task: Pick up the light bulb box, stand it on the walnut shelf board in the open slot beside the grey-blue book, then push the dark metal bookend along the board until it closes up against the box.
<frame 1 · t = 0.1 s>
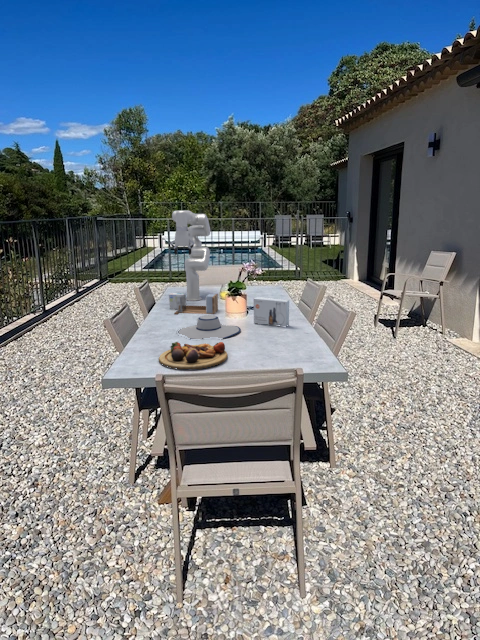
hand: (182, 254, 310), 37 cm above the table, tool pointing down, fingers open, 9 cm apart
light bulb box: (178, 308, 313), on the table
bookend: (181, 303, 299), point 6 cm above the table, slide at 0.0 cm
sun hat: (208, 332, 255), on the table
skincare box: (271, 325, 268), on the table
book: (211, 311, 298), resting on shelf
shelf: (196, 312, 299), on the table
wooden plate with food: (193, 359, 210), on the table
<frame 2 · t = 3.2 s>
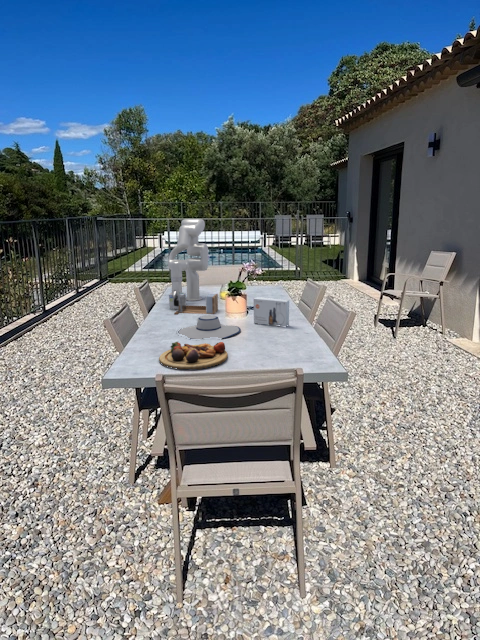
hand: (177, 304, 312), 3 cm above the table, tool pointing down, fingers closed on light bulb box, 6 cm apart
light bulb box: (178, 308, 312), on the table, touching gripper
everything else where it was.
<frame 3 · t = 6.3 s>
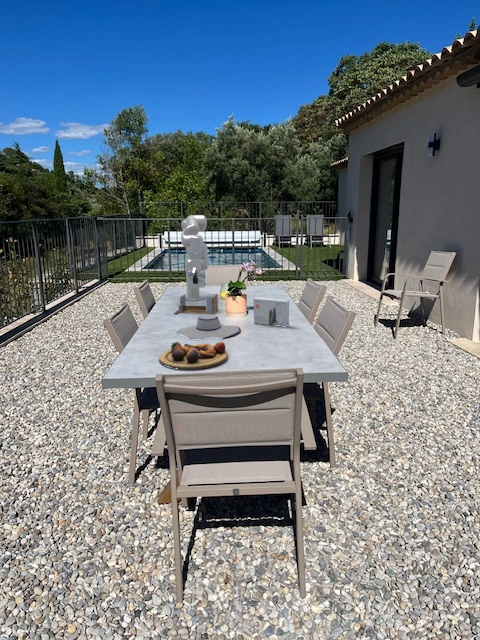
hand: (196, 282, 294), 20 cm above the table, tool pointing down, fingers closed on light bulb box, 6 cm apart
light bulb box: (196, 287, 295), point 17 cm above the table, touching gripper
everything else where it was.
when the fingers open (5 cm above the table, at t = 9.0 s): light bulb box drops 1 cm, resting on shelf.
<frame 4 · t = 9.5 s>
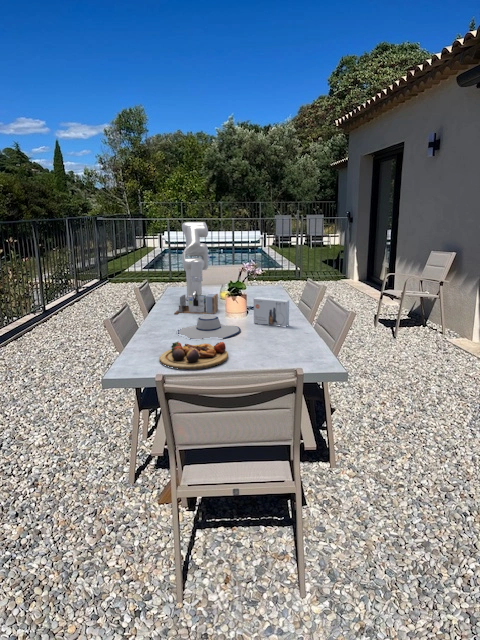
hand: (197, 304, 298), 6 cm above the table, tool pointing down, fingers open, 9 cm apart
light bulb box: (197, 311, 299), point 1 cm above the table, touching shelf
everything else where it was.
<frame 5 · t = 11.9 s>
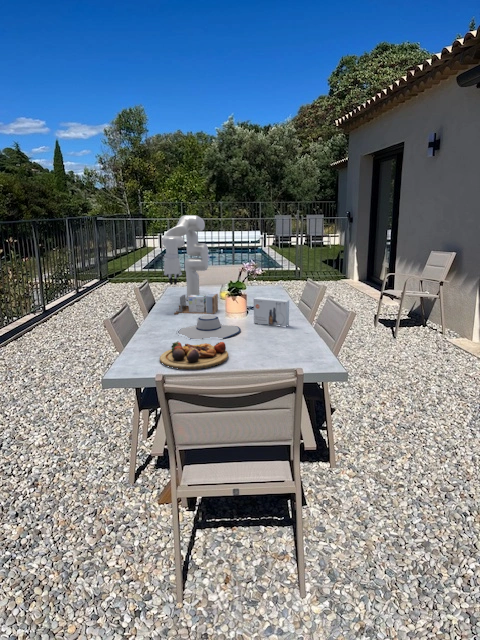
hand: (173, 284, 297), 19 cm above the table, tool pointing down, fingers closed
nothing on the table moved.
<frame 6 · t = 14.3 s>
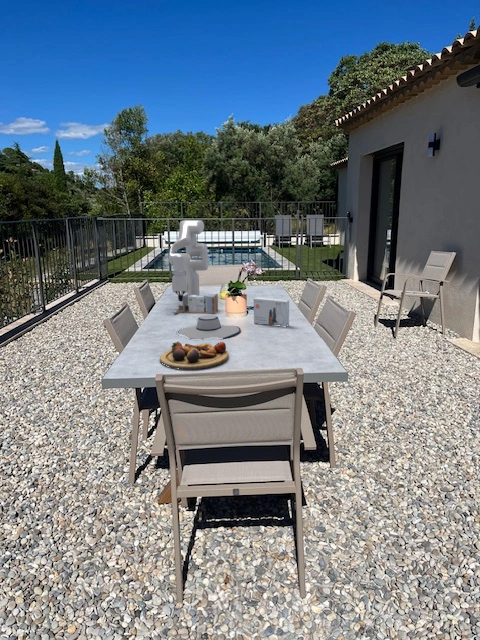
hand: (180, 300, 299), 8 cm above the table, tool pointing down, fingers closed
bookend: (183, 303, 299), point 6 cm above the table, slide at 1.6 cm, touching gripper
everything else where it was.
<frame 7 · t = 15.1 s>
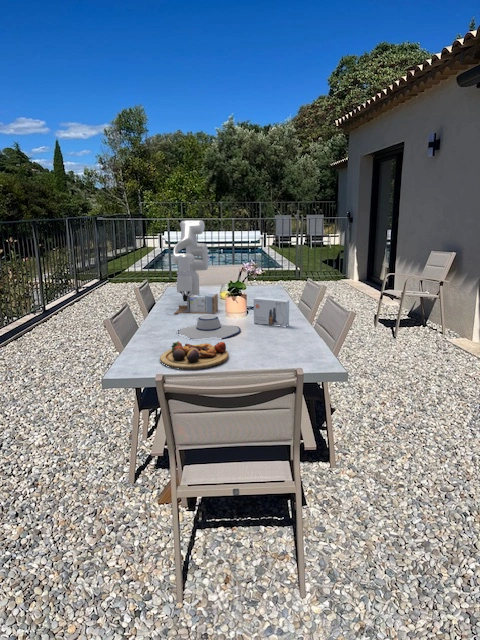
hand: (185, 301, 298), 8 cm above the table, tool pointing down, fingers closed
light bulb box: (198, 311, 298), point 1 cm above the table, touching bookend, shelf
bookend: (188, 303, 298), point 6 cm above the table, slide at 4.8 cm, touching gripper, light bulb box
everything else where it was.
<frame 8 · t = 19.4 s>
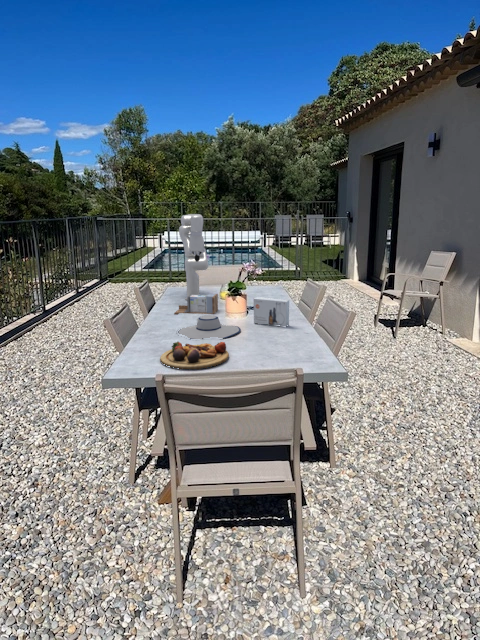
hand: (197, 261, 310), 32 cm above the table, tool pointing down, fingers closed
light bulb box: (199, 311, 298), point 1 cm above the table, touching shelf
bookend: (188, 303, 298), point 6 cm above the table, slide at 4.9 cm
everything else where it was.
at the end: light bulb box inside the target area on the shelf (0.4 cm from its centre), point 0.8 cm above the shelf's base; light bulb box tilted 0°; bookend slide at 4.9 cm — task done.
